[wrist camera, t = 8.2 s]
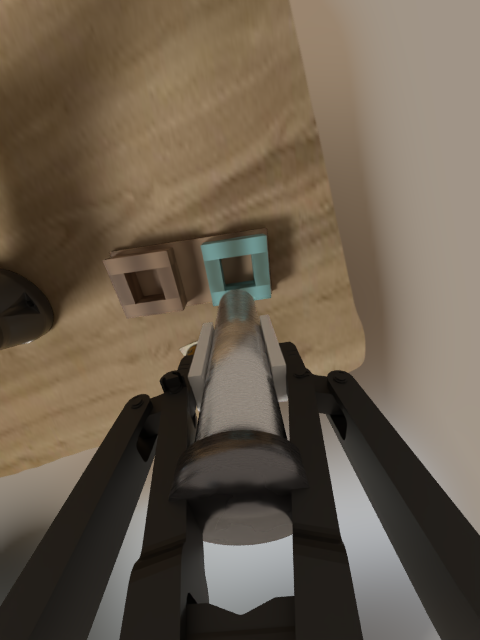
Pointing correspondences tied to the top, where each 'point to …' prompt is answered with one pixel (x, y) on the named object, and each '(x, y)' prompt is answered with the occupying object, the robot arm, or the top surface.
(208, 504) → the steel pin
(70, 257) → the top surface
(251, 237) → the dock station
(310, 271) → the top surface
